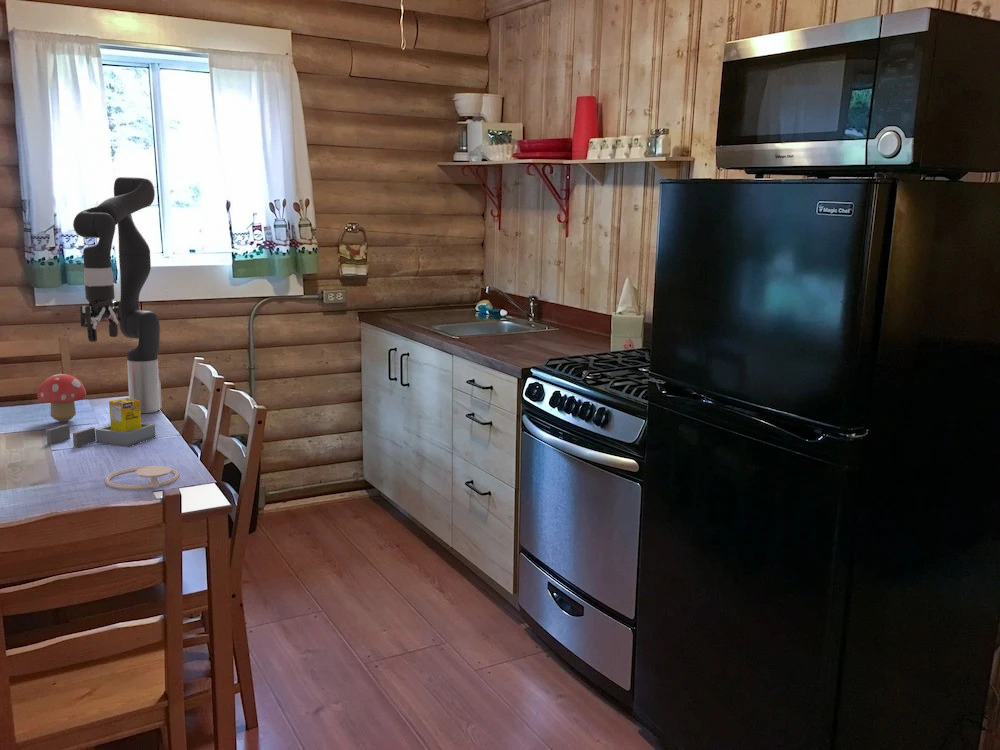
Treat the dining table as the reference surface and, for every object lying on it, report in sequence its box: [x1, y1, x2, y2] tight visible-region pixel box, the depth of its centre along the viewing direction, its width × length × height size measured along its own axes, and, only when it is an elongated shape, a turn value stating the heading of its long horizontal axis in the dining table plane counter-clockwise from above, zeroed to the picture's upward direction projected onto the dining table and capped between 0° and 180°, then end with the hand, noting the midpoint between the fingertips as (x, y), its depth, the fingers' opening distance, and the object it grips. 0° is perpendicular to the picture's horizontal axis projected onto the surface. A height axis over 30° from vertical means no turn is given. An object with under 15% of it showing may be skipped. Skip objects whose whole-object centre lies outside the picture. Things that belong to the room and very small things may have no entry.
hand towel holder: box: [104, 465, 180, 491], centre depth 202 cm, size 17×4×20 cm
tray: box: [95, 422, 156, 448], centre depth 236 cm, size 11×11×4 cm
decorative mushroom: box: [36, 373, 87, 423], centre depth 253 cm, size 13×13×15 cm
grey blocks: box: [46, 423, 96, 448], centre depth 232 cm, size 7×10×4 cm
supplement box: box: [108, 397, 142, 432], centre depth 236 cm, size 6×6×11 cm
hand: (103, 339), depth 239 cm, fingers open, 8 cm apart
